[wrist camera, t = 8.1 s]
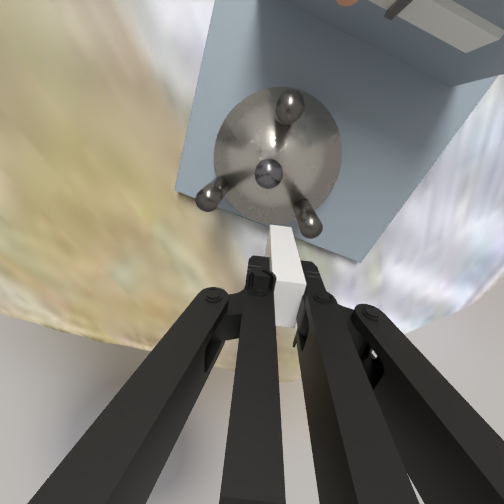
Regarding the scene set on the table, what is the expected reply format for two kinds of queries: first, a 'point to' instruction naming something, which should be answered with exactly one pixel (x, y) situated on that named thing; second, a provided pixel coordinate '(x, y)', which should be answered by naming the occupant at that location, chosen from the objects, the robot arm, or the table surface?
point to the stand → (351, 92)
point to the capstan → (276, 159)
